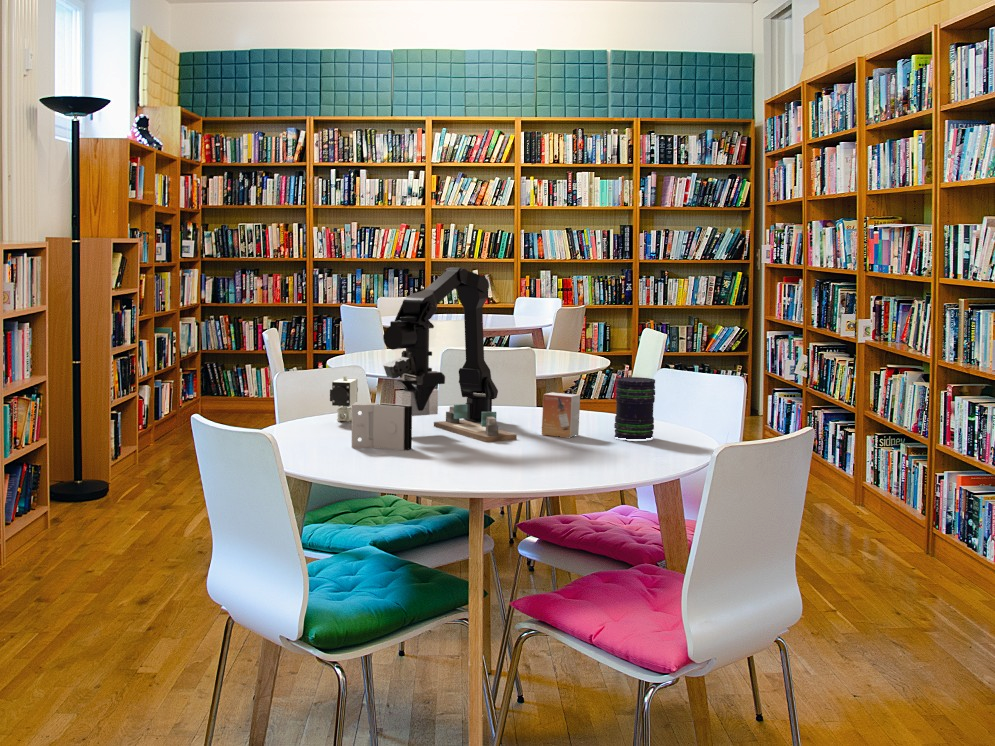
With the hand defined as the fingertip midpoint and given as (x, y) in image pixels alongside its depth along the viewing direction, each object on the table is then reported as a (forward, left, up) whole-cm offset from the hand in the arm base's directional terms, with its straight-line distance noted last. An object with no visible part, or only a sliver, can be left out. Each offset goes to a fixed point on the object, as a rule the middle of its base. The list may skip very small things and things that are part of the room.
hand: (416, 409), depth 267 cm
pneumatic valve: (+8, -27, -6) cm, 29 cm away
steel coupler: (0, 0, -1) cm, 1 cm away
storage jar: (-46, +29, -6) cm, 55 cm away
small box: (-32, +17, -6) cm, 37 cm away
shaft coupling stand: (-14, +5, -6) cm, 16 cm away
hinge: (+16, +14, -6) cm, 22 cm away
